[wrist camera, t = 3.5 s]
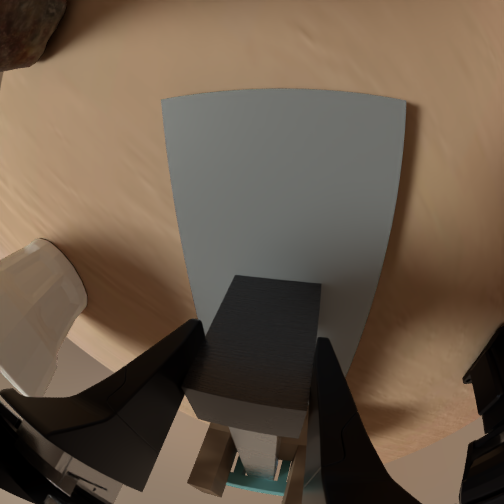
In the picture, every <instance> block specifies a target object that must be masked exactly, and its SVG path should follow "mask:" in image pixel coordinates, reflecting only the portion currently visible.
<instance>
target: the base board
mask: <svg viewBox="0 0 504 504" xmlns="http://www.w3.org/2000/svg"><path fill="white" fill-rule="evenodd" d="M161 103H162V114H163V123H164V132H165V141H166V149H167V157H168V164H169V171H170V178H171V185H172V191H173V198H174V204H175V210H176V216H177V221H178V227H179V232H180V238H181V243H182V248H183V253H184V258H185V263H186V268H187V273H188V277H189V282H190V287H191V291H192V296H193V300H194V304H195V308H196V313H197V317H198V320H201V321H202V324H203V328H204V332H205V336H206V334H207V332H208V330H209V327H210V325H211V323H212V321H213V319H214V317H215V315H216V313H217V311H218V309H219V307H220V305H221V303H222V301H223V299H224V297H225V295H226V292H227V290H228V288H229V286H230V284H231V282H232V280H233V278H234V276H235V275H242V276H251V277H260V278H270V279H279V280H289V281H299V282H310V283H321V298H320V310H319V321H318V331H317V338H318V337H327V338H329V339H330V342H331V344H332V346H333V349H334V351H335V354H336V356H337V359H338V361H339V364H340V366H341V369H342V371H343V374H344V376H345V377H346V375H347V372H348V370H349V368H350V365H351V362H352V360H353V357H354V355H355V352H356V349H357V347H358V344H359V341H360V338H361V335H362V333H363V330H364V327H365V324H366V321H367V318H368V315H369V311H370V308H371V305H372V302H373V298H374V295H375V292H376V288H377V285H378V281H379V277H380V274H381V270H382V266H383V262H384V258H385V254H386V249H387V245H388V241H389V236H390V231H391V226H392V221H393V216H394V211H395V205H396V199H397V193H398V187H399V180H400V172H401V164H402V156H403V146H404V134H405V120H406V101H405V100H400V99H395V98H389V97H383V96H376V95H369V94H362V93H353V92H343V91H331V90H315V89H248V90H232V91H220V92H210V93H201V94H193V95H186V96H179V97H173V98H167V99H162V100H161ZM316 343H317V340H316ZM308 405H309V401H308Z"/></svg>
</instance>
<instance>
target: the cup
mask: <svg viewBox="0 0 504 504" xmlns="http://www.w3.org/2000/svg"><path fill="white" fill-rule="evenodd" d="M86 306H87V294H86V291H85V288H84V286H83V283H82V281H81V279H80V277H79V275H78V274H77V272H76V270H75V268H74V267H73V265H72V264H71V263H70V261H69V260H68V259H67V258H66V257H65V255H64V254H63V253H62V252H61V251H60V250H59V249H58V248H57V247H55V246H54V245H53V244H52V243H51V242H49V241H46V240H43V239H36V240H34V241H32V242H31V243H30V244H28V245H27V246H25V247H24V248H22V249H20V250H18V251H16V252H14V253H13V254H11V255H9V256H7V257H5V258H3V259H2V260H0V372H1V373H2V374H3V375H4V376H5V377H6V379H7V380H8V381H9V382H10V383H11V384H12V385H13V386H15V387H16V389H18V390H19V391H20V392H21V393H22V394H23V395H24V396H27V397H43V396H44V394H45V392H46V390H47V387H48V386H49V384H50V382H51V380H52V377H53V375H54V373H55V371H56V369H57V359H58V357H57V353H58V351H59V349H60V347H61V345H62V343H63V341H64V339H65V338H66V336H67V334H68V332H69V330H70V328H71V327H72V325H73V323H74V321H75V319H76V318H77V317H78V316H79V315H80V313H81V312H82V311H83V310H84V309H85V307H86Z"/></svg>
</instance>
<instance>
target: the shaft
mask: <svg viewBox="0 0 504 504" xmlns="http://www.w3.org/2000/svg"><path fill="white" fill-rule="evenodd" d="M320 298H321V283H310V282H299V281H289V280H279V279H270V278H260V277H251V276H242V275H235V276H234V278H233V280H232V282H231V284H230V286H229V288H228V290H227V292H226V295H225V297H224V299H223V301H222V303H221V305H220V307H219V309H218V311H217V313H216V315H215V317H214V319H213V321H212V323H211V325H210V327H209V330H208V332H207V334H206V336H205V339H204V341H203V343H202V345H201V347H200V349H199V351H198V354H197V356H196V358H195V360H194V362H193V364H192V365H191V367H190V369H189V371H188V373H187V375H186V377H185V379H184V381H183V384H182V386H181V387H182V389H183V391H184V393H185V395H186V397H187V399H188V401H189V403H190V404H191V406H192V408H193V410H194V412H195V414H196V416H197V417H198V419H201V420H205V421H208V422H212V423H216V424H220V425H224V426H228V427H229V429H230V432H231V435H232V437H233V440H234V443H235V445H236V448H237V451H238V453H239V456H240V458H241V461H242V463H243V466H244V468H245V471H246V473H247V475H248V476H251V477H256V478H261V479H267V480H273V481H274V478H275V474H276V470H277V465H278V459H279V451H280V444H281V436H282V437H289V438H297V439H299V436H300V433H301V430H302V426H303V423H304V420H305V416H306V412H307V407H308V401H309V395H310V388H311V377H312V370H313V362H314V354H315V349H316V340H317V331H318V321H319V310H320Z"/></svg>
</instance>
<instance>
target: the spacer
mask: <svg viewBox="0 0 504 504" xmlns="http://www.w3.org/2000/svg"><path fill="white" fill-rule="evenodd" d="M290 463H291V461H286V460H283V461H282V465H281V469H280V473H279V477H278V481H273V480H267V479H261V478H256V477H251V476H246V475H245V473H246V471H245V468H244V466H243V463H242V461H241V458H240V456H239V457H238V460H237V463H236V466H235V469H234V472H230V474H229V477H228V480H227V483H226V485H228V486H232V487H236V488H241V489H246V490H250V491H255V492H261V493H267V494H273V495H280V496H284V492H285V488H286V484H287V482H286V480H287V476H288V472H289V467H290Z"/></svg>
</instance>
